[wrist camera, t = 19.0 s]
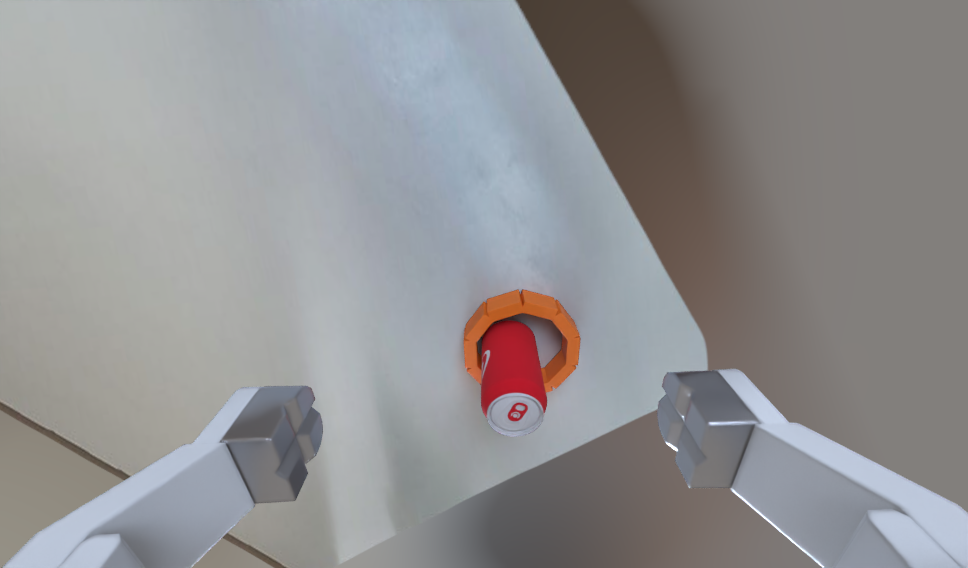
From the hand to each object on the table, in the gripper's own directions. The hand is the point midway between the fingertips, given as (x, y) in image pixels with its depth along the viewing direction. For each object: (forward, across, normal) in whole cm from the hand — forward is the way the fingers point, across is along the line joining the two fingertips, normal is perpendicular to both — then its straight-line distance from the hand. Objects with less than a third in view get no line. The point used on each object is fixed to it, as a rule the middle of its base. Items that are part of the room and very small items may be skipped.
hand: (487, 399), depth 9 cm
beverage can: (+31, -2, +20) cm, 37 cm away
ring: (+31, -3, +20) cm, 37 cm away
